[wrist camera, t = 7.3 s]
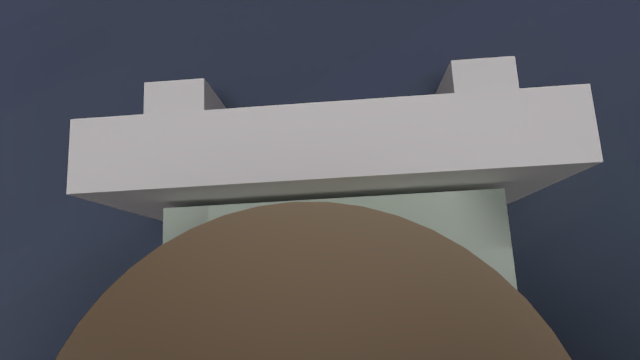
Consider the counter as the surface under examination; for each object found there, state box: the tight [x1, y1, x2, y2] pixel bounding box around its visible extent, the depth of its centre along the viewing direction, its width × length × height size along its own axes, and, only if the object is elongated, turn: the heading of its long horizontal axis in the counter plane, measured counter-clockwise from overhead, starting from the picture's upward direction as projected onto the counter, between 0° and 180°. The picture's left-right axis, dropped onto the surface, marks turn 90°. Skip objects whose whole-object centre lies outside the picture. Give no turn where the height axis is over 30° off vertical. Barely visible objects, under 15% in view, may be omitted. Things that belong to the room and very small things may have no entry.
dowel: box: [55, 202, 571, 360], centre depth 9 cm, size 4×4×12 cm
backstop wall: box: [66, 56, 603, 221], centre depth 15 cm, size 4×12×7 cm, turn 93°
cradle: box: [163, 188, 517, 290], centre depth 14 cm, size 8×9×5 cm
